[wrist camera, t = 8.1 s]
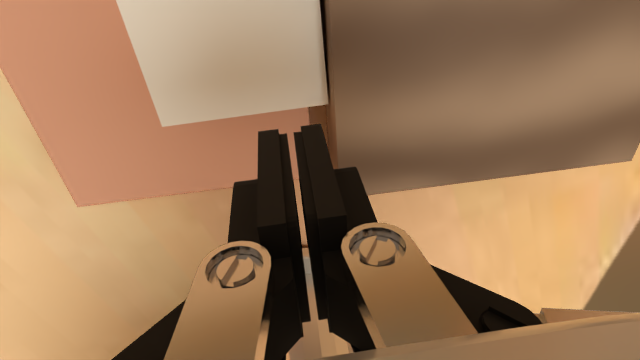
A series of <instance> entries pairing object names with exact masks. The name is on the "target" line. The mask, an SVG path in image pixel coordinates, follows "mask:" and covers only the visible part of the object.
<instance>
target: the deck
mask: <svg viewBox="0 0 640 360" xmlns="http://www.w3.org/2000/svg"><path fill="white" fill-rule="evenodd" d="M320 11H321V23H322V35H323V47H324V58H325V70H326V82H327V94H328V104H326V116H327V131H328V146H329V155H330V158H331V162H332V165H333V169H339V168H347V167H356V168H357V170H358V172H359V175H360V177H361V180H362V183H363V185H364V188H365V191H366V193H367V195H373V194H381V193H389V192H396V191H404V190H412V189H419V188H427V187H435V186H442V185H450V184H458V183H465V182H473V181H481V180H488V179H496V178H504V177H511V176H519V175H527V174H534V173H542V172H550V171H557V170H565V169H573V168H580V167H588V166H596V165H603V164H611V163H619V162H626V161H632V158H633V156H634V154H635V152H636V150H637V148H638V145H639V143H640V0H320Z"/></svg>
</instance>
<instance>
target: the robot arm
mask: <svg viewBox="0 0 640 360" xmlns="http://www.w3.org/2000/svg"><path fill="white" fill-rule="evenodd" d="M293 133H294V141H295V149H296V157H297V166H298V174H299V182H300V190H301V198H302V206H303V214H304V221H305V229H306V236H307V243H308V248H302V243H301V235H300V227H299V219H298V212H297V204H296V197H295V189H294V182H293V174H292V167H291V159H290V152H289V144H288V137H287V133H285V134H279V130H278V129H274V130H265V131H258V175H257V179H254V180H246V181H238V182H234V186H233V195H232V205H231V215H230V225H229V235H228V243H227V244H224V245H221V246H219V247H218V248H216V249H214V250H213V251H211V252H210V253H209V254H208V255H207V256H206V257H205V258H204V259H203V260H202V262H201V263H200V265H199V267H198V269H197V272H196V275H195V277H194V280H193V283H192V285H191V288H190V291H189V293H188V296H187V299H186V300H185V301H184V302H182V303H181V304H180V305H179V306H177V307H176V308H175V309H174V310H173V311H171V312H170V313H169V314H168V315H166V316H165V317H164V318H163V319H161V320H160V321H159V322H158V323H156V324H155V325H154V326H153V327H151V328H150V329H149V330H148V331H146V332H145V333H144V334H143V335H141V336H140V337H139V338H138V339H137V340H135V341H134V342H133V343H132V344H130V345H129V346H128V347H127V348H125V349H124V350H123V351H122V352H120V353H119V354H118V355H117V356H115V357H114V358H113V359H112V360H640V313H635V312H615V311H594V310H593V311H592V310H573V309H552V308H542V309H541V312H540V314H535V313H532V312H531V311H530V310H529V309H527V308H526V307H524V306H522V305H520V304H518V303H517V302H515V301H512V300H510V299H508V298H505V297H503V296H501V295H499V294H496V293H494V292H492V291H489V290H487V289H485V288H483V287H480V286H478V285H476V284H473V283H471V282H469V281H467V280H464V279H462V278H460V277H457V276H455V275H453V274H451V273H448V272H446V271H444V270H441V269H439V268H437V267H434V266H432V265H430V264H429V263H428V261H427V260H426V258H425V257H424V256H423V254H422V253H421V251H420V250H419V248H418V247H417V246H416V244H415V243H414V241H413V240H412V239H411V237H410V236H409V235H408V234H407V233H406V232H405V231H404V230H402V229H400V228H398V227H396V226H394V225H390V224H387V223H377V220H376V217H375V215H374V212H373V209H372V207H371V204H370V201H369V199H368V196H367V193H366V191H365V188H364V185H363V183H362V180H361V177H360V175H359V172H358V170H357V168H356V167H347V168H339V169H333V165H332V162H331V158H330V155H329V151H328V148H327V144H326V140H325V137H324V133H323V130H322V126H321V124H315V125H306V126H301V132H293Z"/></svg>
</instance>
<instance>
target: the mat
mask: <svg viewBox="0 0 640 360" xmlns="http://www.w3.org/2000/svg"><path fill="white" fill-rule="evenodd" d="M0 68H1V69H2V71H3V73H4V75H5V77H6V79H7V80H8V82H9V84H10V86H11V88H12V89H13V91H14V93H15V95H16V97H17V98H18V100H19V102H20V104H21V106H22V107H23V109H24V111H25V113H26V115H27V116H28V118H29V120H30V122H31V124H32V125H33V127H34V129H35V131H36V133H37V135H38V136H39V138H40V140H41V142H42V144H43V145H44V147H45V149H46V151H47V153H48V154H49V156H50V158H51V160H52V162H53V163H54V165H55V167H56V169H57V171H58V172H59V174H60V176H61V178H62V180H63V182H64V183H65V185H66V187H67V189H68V191H69V192H70V194H71V196H72V198H73V200H74V201H75V203H76V205H77V207H81V206H89V205H97V204H105V203H112V202H120V201H128V200H136V199H144V198H152V197H160V196H168V195H175V194H183V193H191V192H199V191H207V190H215V189H223V188H231V187H233V186H234V182H238V181H246V180H254V179H257V175H258V131H265V130H274V129H278V130H279V134H285V133H287V137H288V144H289V152H290V159H291V167H292V174H293V180H294V179H299V174H298V166H297V157H296V149H295V141H294V133H293V132H301V126H306V125H310V122H309V111H308V107H304V108H297V109H290V110H283V111H275V112H268V113H261V114H253V115H246V116H239V117H231V118H224V119H217V120H210V121H202V122H195V123H188V124H180V125H173V126H166V127H162V125H161V122H160V120H159V117H158V114H157V111H156V109H155V106H154V103H153V101H152V98H151V95H150V92H149V90H148V87H147V84H146V81H145V79H144V76H143V73H142V70H141V68H140V65H139V62H138V59H137V57H136V54H135V51H134V49H133V46H132V43H131V40H130V38H129V35H128V32H127V29H126V27H125V24H124V21H123V18H122V16H121V13H120V10H119V7H118V5H117V2H116V0H0Z"/></svg>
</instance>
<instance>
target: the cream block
mask: <svg viewBox="0 0 640 360" xmlns="http://www.w3.org/2000/svg"><path fill="white" fill-rule="evenodd" d="M116 2H117V5H118V7H119V10H120V13H121V16H122V18H123V21H124V24H125V27H126V29H127V32H128V35H129V38H130V40H131V43H132V46H133V49H134V51H135V54H136V57H137V59H138V62H139V65H140V68H141V70H142V73H143V76H144V79H145V81H146V84H147V87H148V90H149V92H150V95H151V98H152V101H153V103H154V106H155V109H156V111H157V114H158V117H159V120H160V122H161V125H162V127H166V126H173V125H180V124H188V123H195V122H202V121H210V120H217V119H224V118H231V117H239V116H246V115H253V114H261V113H268V112H275V111H283V110H290V109H297V108H304V107H312V106H319V105H326V104H328V94H327V82H326V70H325V58H324V47H323V35H322V23H321V11H320V0H116Z"/></svg>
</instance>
